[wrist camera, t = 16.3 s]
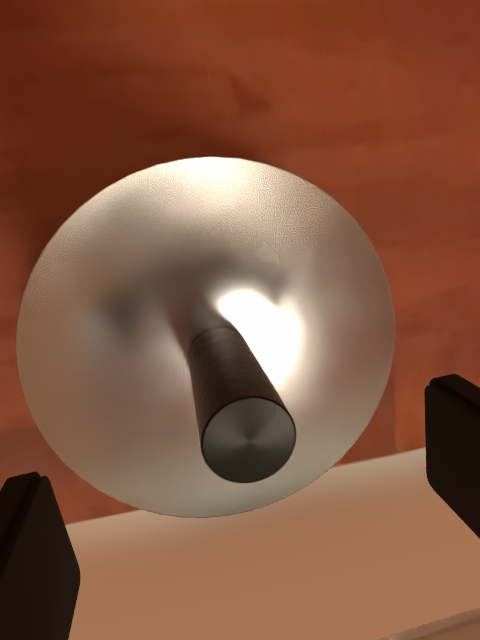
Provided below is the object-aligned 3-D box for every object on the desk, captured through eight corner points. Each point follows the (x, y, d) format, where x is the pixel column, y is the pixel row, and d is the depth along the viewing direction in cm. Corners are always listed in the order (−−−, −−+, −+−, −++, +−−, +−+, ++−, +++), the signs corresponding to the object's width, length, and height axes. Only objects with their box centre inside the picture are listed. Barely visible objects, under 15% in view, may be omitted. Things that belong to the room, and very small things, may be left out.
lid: (138, 553, 22) (123, 745, 14) (-60, 263, 17) (-253, 312, 9) (422, 412, 23) (556, 520, 15) (314, 91, 18) (432, 1, 10)
